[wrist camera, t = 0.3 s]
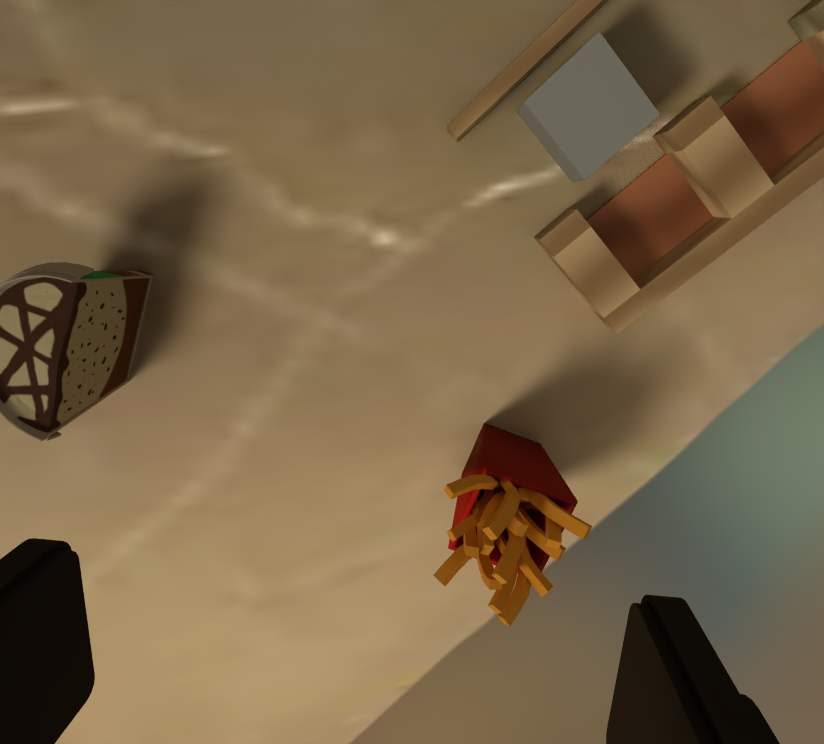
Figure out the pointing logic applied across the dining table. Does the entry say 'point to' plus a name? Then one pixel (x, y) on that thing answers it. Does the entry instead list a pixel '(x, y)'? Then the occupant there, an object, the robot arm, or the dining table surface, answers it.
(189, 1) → the dining table surface
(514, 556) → the french fries
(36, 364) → the food container
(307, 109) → the dining table surface
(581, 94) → the block
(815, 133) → the channel
